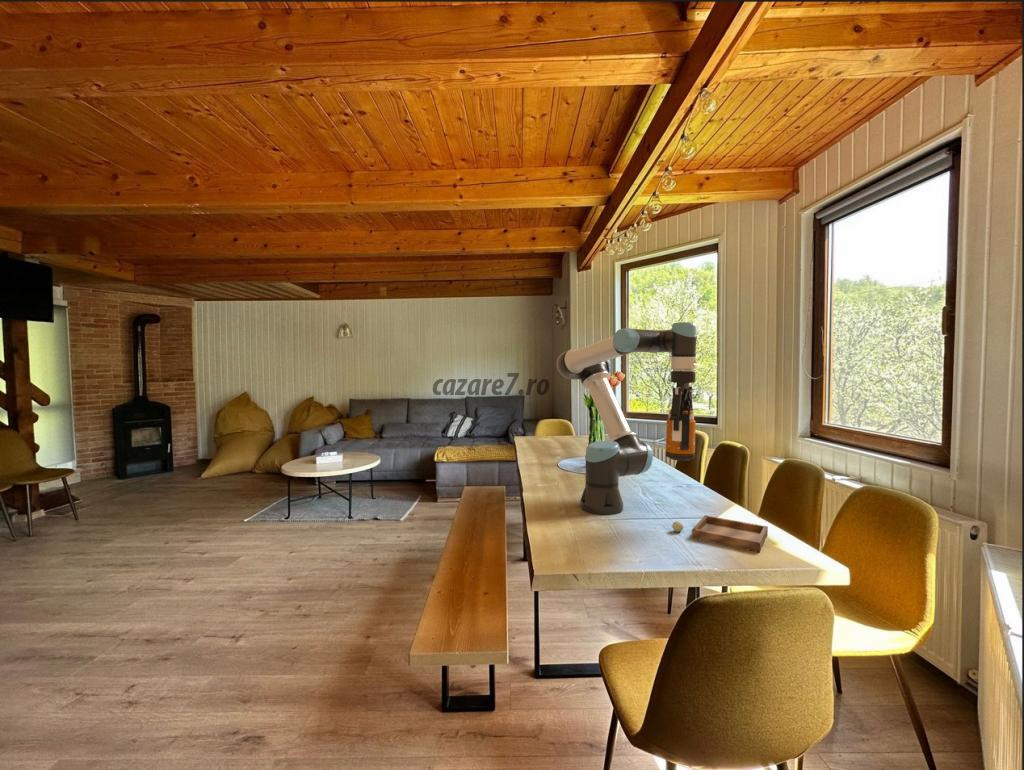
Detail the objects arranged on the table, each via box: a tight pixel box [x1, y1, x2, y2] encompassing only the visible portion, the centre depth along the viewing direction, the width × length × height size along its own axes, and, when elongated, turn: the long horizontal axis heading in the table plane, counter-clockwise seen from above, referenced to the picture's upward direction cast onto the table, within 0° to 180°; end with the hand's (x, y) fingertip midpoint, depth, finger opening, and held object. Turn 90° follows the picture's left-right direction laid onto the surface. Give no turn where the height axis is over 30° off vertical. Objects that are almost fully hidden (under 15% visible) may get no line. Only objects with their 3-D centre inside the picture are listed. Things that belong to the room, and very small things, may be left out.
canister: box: [665, 399, 697, 462], centre depth 153 cm, size 9×11×20 cm
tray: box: [691, 514, 769, 553], centre depth 141 cm, size 18×16×3 cm
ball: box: [671, 520, 684, 533], centre depth 145 cm, size 3×3×3 cm
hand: (681, 438), depth 153 cm, fingers closed on canister, 10 cm apart
